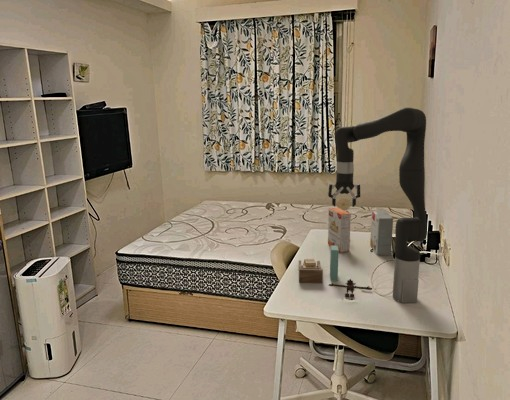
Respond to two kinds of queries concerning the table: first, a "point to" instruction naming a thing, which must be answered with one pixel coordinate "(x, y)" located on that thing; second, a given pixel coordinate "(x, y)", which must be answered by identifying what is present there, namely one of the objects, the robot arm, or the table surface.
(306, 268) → the oak offcut large
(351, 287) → the long-limbed plush toy
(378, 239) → the hard drive box
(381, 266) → the table surface
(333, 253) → the teal board
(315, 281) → the walnut rack
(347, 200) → the flower in vase
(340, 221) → the cracker box
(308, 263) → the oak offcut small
